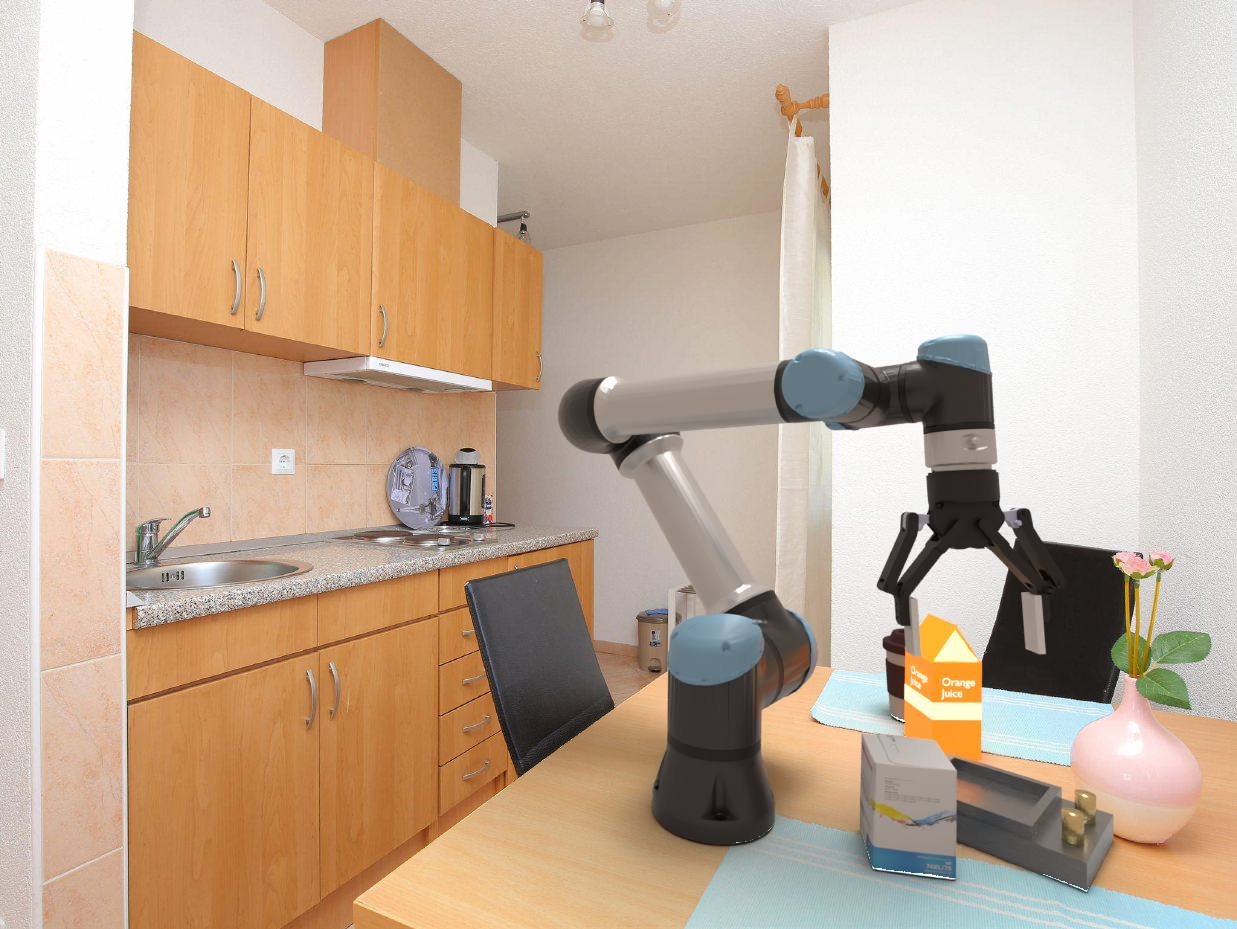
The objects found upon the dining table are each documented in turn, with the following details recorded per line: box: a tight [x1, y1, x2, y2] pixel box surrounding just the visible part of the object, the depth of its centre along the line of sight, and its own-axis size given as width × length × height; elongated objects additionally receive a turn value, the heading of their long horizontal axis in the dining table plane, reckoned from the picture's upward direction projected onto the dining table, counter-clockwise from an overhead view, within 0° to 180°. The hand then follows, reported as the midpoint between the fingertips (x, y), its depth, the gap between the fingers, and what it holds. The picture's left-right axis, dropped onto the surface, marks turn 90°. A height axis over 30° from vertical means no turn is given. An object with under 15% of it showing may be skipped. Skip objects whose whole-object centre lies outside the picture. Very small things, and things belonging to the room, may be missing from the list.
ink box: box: [859, 733, 957, 879], centre depth 72 cm, size 9×8×12 cm
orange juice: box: [903, 613, 983, 761], centre depth 101 cm, size 8×9×20 cm
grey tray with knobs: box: [946, 753, 1114, 890], centre depth 78 cm, size 20×14×6 cm
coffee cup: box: [882, 627, 905, 720], centre depth 113 cm, size 10×10×15 cm
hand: (974, 653), depth 74 cm, fingers open, 13 cm apart
